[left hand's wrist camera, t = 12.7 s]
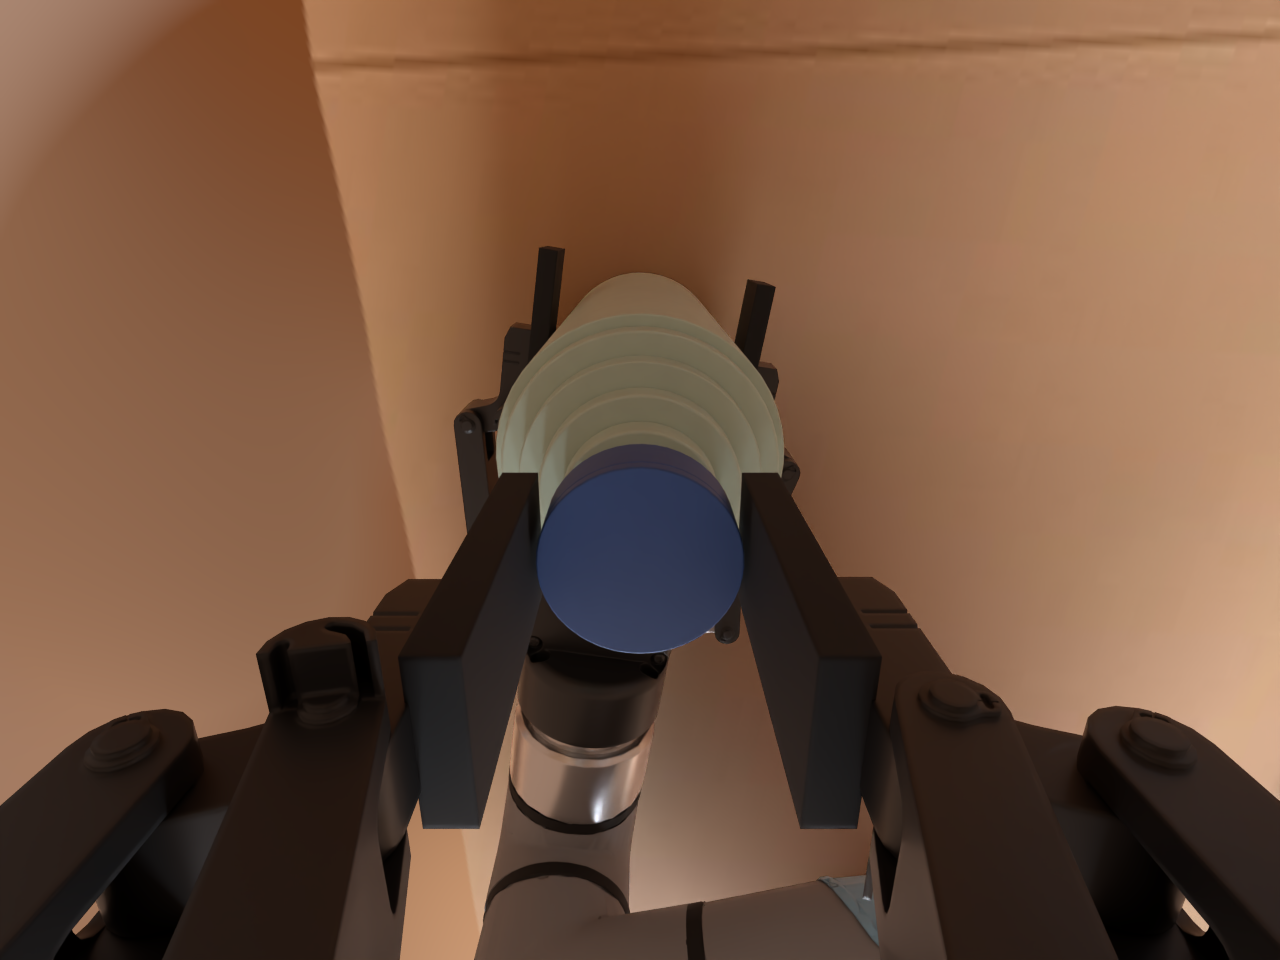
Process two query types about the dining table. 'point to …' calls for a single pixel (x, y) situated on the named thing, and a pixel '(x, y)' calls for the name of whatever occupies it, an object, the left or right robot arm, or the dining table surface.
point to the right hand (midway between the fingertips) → (657, 266)
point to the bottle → (640, 390)
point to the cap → (640, 550)
